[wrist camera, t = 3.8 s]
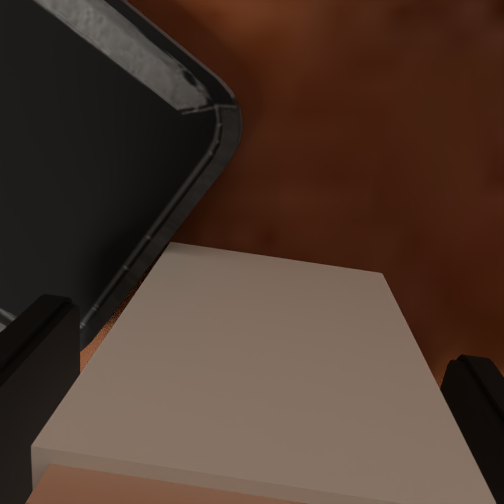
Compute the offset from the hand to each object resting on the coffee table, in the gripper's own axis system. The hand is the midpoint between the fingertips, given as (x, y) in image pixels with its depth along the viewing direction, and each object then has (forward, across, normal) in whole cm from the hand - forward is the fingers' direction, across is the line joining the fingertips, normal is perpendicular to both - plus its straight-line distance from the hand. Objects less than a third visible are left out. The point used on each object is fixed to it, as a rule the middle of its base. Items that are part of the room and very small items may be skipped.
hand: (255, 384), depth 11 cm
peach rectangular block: (+2, 0, 0) cm, 2 cm away
